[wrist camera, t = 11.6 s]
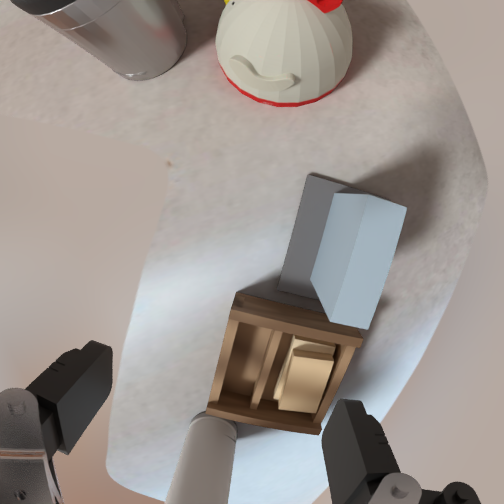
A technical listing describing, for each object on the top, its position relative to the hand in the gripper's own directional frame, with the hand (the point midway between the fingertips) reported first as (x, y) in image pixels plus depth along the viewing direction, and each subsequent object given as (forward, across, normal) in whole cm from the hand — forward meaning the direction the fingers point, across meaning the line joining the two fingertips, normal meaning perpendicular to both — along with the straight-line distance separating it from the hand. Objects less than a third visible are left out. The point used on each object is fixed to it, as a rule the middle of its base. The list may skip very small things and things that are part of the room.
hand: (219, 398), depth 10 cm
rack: (+23, -6, +11) cm, 26 cm away
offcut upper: (+20, -9, +11) cm, 25 cm away
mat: (+23, -8, -3) cm, 25 cm away
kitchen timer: (+24, +1, -22) cm, 33 cm away
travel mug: (+23, 0, +24) cm, 33 cm away
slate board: (+22, -8, -4) cm, 24 cm away
